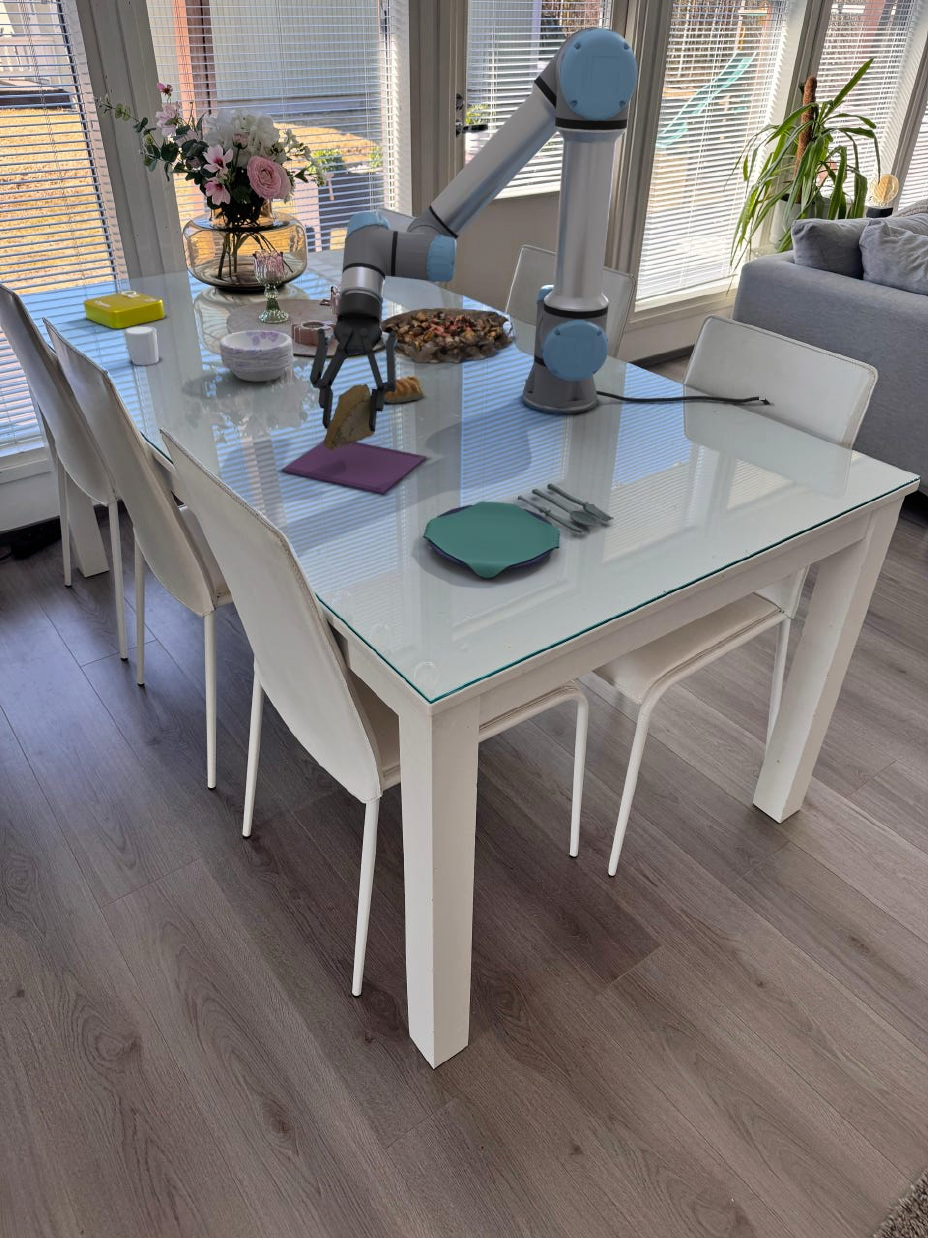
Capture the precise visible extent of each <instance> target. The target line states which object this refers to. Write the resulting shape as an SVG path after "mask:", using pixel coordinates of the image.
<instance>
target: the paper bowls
mask: <svg viewBox="0 0 928 1238" xmlns="http://www.w3.org/2000/svg"><path fill="white" fill-rule="evenodd" d="M219 348H220V358H221V363H222V365H223V366H224V367H225V368H227V369H230V370H231V371H232V372H233V374H234V376H236V378H238V379H240V380H243V381H247V382H257V383H258V382H269V381H273V380H276V379H278V378H280V377H281V376H282V375H283V374H284V372H285V370H286V368H287V367H289V366H291V365H292V364H293V363H294V351H293V350H294V349H293V339H292V338H291V336H289V335H288V334H286V333H284V332H281V331H274V330H260V329H256V330H254V329H253V330H243V331H237V332H236V331H235V332H232V333H229V334H227V335H224V336H223V337H221V338H220V340H219Z"/></svg>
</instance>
